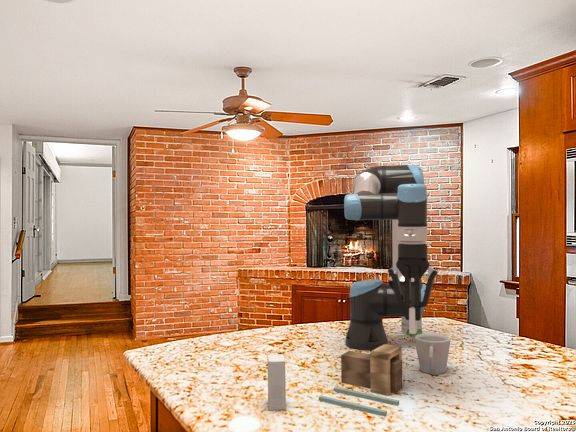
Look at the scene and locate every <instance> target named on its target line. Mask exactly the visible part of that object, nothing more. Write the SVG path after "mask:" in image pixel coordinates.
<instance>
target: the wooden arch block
mask: <svg viewBox="0 0 576 432" xmlns="http://www.w3.org/2000/svg"><path fill="white" fill-rule="evenodd" d="M402 347H403V346H400V345H393V344H389V343H388V344H384V345H382V346H380V347H378V348H376V349H374V350H370V352H369V354H370V378H371V389H370V393H374V394H378V395H383V396H390V395H391V394H392V393H391V389H390V359H391V358H397V359H402V360H403V357H402V356H403V354H402V353H403V352H402Z"/></svg>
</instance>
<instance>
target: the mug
mask: <svg viewBox="0 0 576 432" xmlns="http://www.w3.org/2000/svg"><path fill="white" fill-rule="evenodd" d="M414 342H415V348H416V355H417V361H418V368H419V371H421V372H422V373H425V374H431V375H441V374H444V373H446V372H447V367H448V360H449V353H450V346H451V338H450V337H449V336H447V335H445V334H439V333H431V332H430V333H429V332H428V333H427V332H426V333H422V334H419V335H416V336H414Z"/></svg>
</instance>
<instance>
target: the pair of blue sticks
mask: <svg viewBox="0 0 576 432" xmlns="http://www.w3.org/2000/svg"><path fill="white" fill-rule="evenodd" d="M332 389H333V392H334V391H335V393H338V394H344V395H348V396H353V397H357V398H362V399H366V400H370V401H375V402H380V403H383V404H384V403H385V404H389V405H393V406H396V407H397V406H399V405H400V400H398V399H393V398H389V397H386V396H385V397H384V396H379V395H376V394H371V393H366V392H361V391H359V390H358V391H356V390H353V389H349V388H343V387H338V386H334V387H333V388H332ZM319 400H320V401H319ZM318 401H319V402H323V401H324V402H323V403H327V402H328V403H327V404H331V403H332V405H335V404H336V406H340V407H344V408H349V409H352V410H353V409H354V410H357V411H361V412H366V413H369V414H373V415H377V416H383V417H386V416H387V415H388V411H387V410H385V409H380V408H376V407H373V406H367V405H364V404H359V403H355V402H351V401H347V400H346V401H345V400H342V399H337V398H333V397H328V396H326V395H319V396H318Z"/></svg>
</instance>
